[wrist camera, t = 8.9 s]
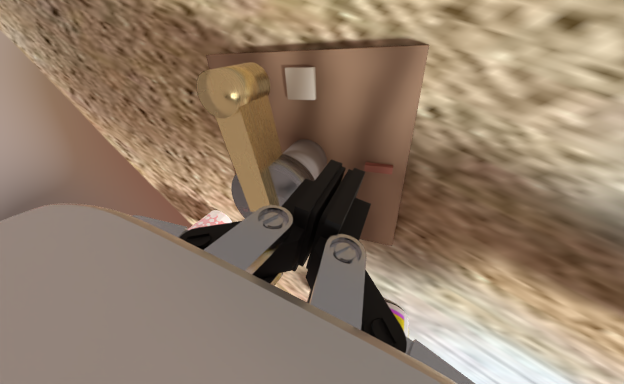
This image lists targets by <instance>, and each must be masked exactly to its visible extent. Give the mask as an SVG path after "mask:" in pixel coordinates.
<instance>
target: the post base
mask: <svg viewBox="0 0 624 384" xmlns="http://www.w3.org/2000/svg"><path fill="white" fill-rule="evenodd" d="M428 49H429V45H409V46H386V47H364V48H342V49H319V50H297V51H274V52H252V53H230V54H213V55H206V57H207V61H208V65H209V69H216V68H221V67H227V66H232V65H238V64H243V63H249V62H252V63H256V64H258V65H260V66H261V67H262V68H263V69H264V70H265V72H266V73H267V75H268V77H269V80H270V93H269V96H268V98H269V102H270V106H271V110H272V114H273V118H274V122H275V126H276V130H277V134H278V138H279V142H280V146H281V150H282V154H286V155H288V156H291V157H293V158H294V159H296V160H298V161H299V162H300V163H302V164H303V165H304V166H305V167H306V168H307V169H308V170H309V171H310V173H311V174H312V176H313V178H314V179H315V180H316V178H317V177H318V176H319V174H320V173H321V172H322V171H323V169H324V168H325V167H326V165H327V164H328V163H329V162H330V160H331V159H332V160H335V161H337V162H340V163H342V167H345V168H346V169H345V172H344V175H343V178H344V176H345V175H346V173H347V171H348V170H349V169H350V170H353V169H354V168H357V169H359V170H362V171H365V175H364V177H363V180H362V183H361V185H360V188H359V191H358V193H357V196H356V198H358V199H360V200H363V201H365V202H368V203H371V206H370V209H369V212H368V215H367V218H366V221H365V224H364V227H363V230H362V233H361V236H360V239H362V240H367V241H372V242H376V243H381V244H386V245H391V246H392V244H393V239H394V233H395V228H396V223H397V217H398V212H399V206H400V201H401V195H402V190H403V185H404V179H405V174H406V168H407V163H408V157H409V152H410V147H411V141H412V136H413V130H414V125H415V119H416V114H417V109H418V103H419V98H420V92H421V87H422V82H423V76H424V71H425V65H426V60H427V54H428ZM342 180H343V179H342Z"/></svg>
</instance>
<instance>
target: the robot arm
mask: <svg viewBox="0 0 624 384" xmlns="http://www.w3.org/2000/svg"><path fill="white" fill-rule="evenodd" d="M345 169H346V168H345V167H342V163H340V162H337V161H335V160H332V159H331V160H330V162H329V163H328V164H327V165H326V167H325V168H324V169H323V171H322V172H321V173H320V174H319V176H318V177H317V178H316V180H315V181H312V180H309V179H305V180H304V181H303V182H302V183H301V184H300V185H299V186H298V188H297V189H296V190H295V191H294V192H293V193H292V195H291V196H290V197H289V198H288V199H287V200H286V202H285V203H284V204H283V205H282V206H277V205H267V206H263V207H261V208H259V209H258V210H256V211H255V212H254V213H252V214H251V215H250V216H248V217H247V218H246V219H244V220H243V221H239V222H232V223H225V224H218V225H212V226H205V227H198V228H194V229H191V230H187V227H185V226H181V225H177V224H173V223H169V222H164V221H160V220H156V219H152V218H148V217H144V216H136V215H133V216H130V215H127V214H124V213H121V212H118V211H115V210H111V209H107V208H102V207H98V206H92V205H83V204H53V205H46V206H42V207H39V208H35V209H32V210H30V211H27V212H24V213H21V214H18V215H15V216H13V217H10V218H8V219H5V220H3V221H0V384H475V383H474V382H472V381H471V380H470V379H468V378H467V377H466V376H464V375H463V374H461V373H460V372H459V371H457V370H456V369H455V368H453V367H452V366H451V365H449V364H448V363H447V362H445V361H444V360H443V359H441V358H440V357H439V356H437V355H436V354H435V353H433V352H432V351H431V350H429V349H428V348H427V347H425V346H424V345H423V344H421V343H420V342H418V341H417V340H416V339H415V340H414V341H412V340H410V339H409V338H408V337H406V336H405V333H404V331H403V329H402V327H401V325H400V323H399V322H398V320H397V319H396V317H395V316H394V314H393V312H392V311H391V309H390V308H389V306H388V304H387V303H386V301H385V300H384V298H383V297H382V295H381V293H380V292H379V290H378V289H377V287H376V286H375V284H374V282H373V281H372V279H371V278H370V276H369V274H368V273H367V271H366V270H365V268H366V251H365V249H364V247H363V245H362V244H361V243H360V242H359V239H360V236H361V233H362V230H363V227H364V224H365V221H366V218H367V215H368V212H369V209H370V206H371V203H368V202H365V201H363V200H360V199H358V198H356V196H357V193H358V191H359V188H360V185H361V183H362V180H363V177H364V175H365V171H362V170H359V169H357V168H354V169H353V170H350V169H349V170H348V171H347V173H346V175H345V176H344V178H343V175H344V172H345ZM342 179H343V180H342ZM309 254H310V256H309ZM308 256H309V259H308V263H307V267H306V268H307V269H308V272H307V275H306V279H307V281H308V284H309V286H310V288H311V290H310V293H309V297H308V300H307V302H305V301H303V300H301V299H299V298H297V297H295V296H293V295H291V294H289V293H287V292H285V291H283V290H281V289H279V288H277V287H275V286H274V285H275V284H276V283H277V282H278V281H279V279H280V278H281V276H282V275H283V272H287V271H291V270H293V271H296V269H297V267H298V265H300V266H303V265H304V264H305V262H306V260H307V258H308Z"/></svg>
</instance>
